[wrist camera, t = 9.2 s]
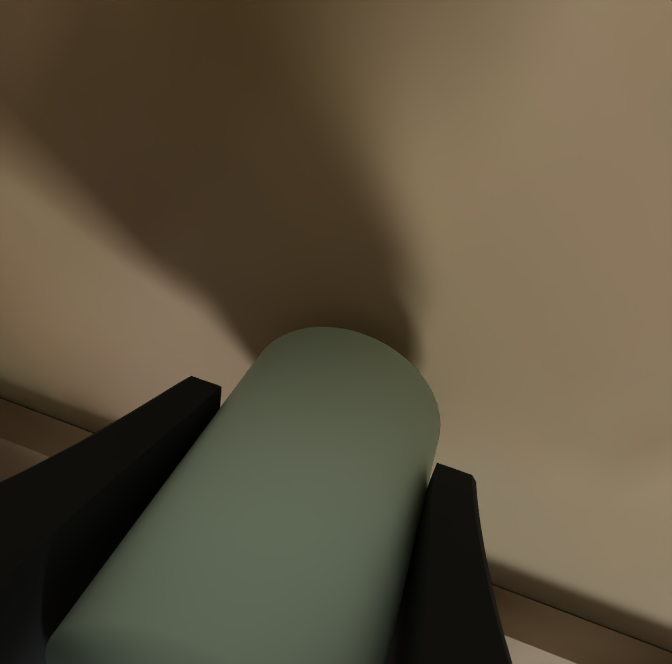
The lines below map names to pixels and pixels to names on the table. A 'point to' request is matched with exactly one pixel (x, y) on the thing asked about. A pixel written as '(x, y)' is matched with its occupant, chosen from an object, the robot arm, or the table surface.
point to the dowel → (275, 520)
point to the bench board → (514, 610)
